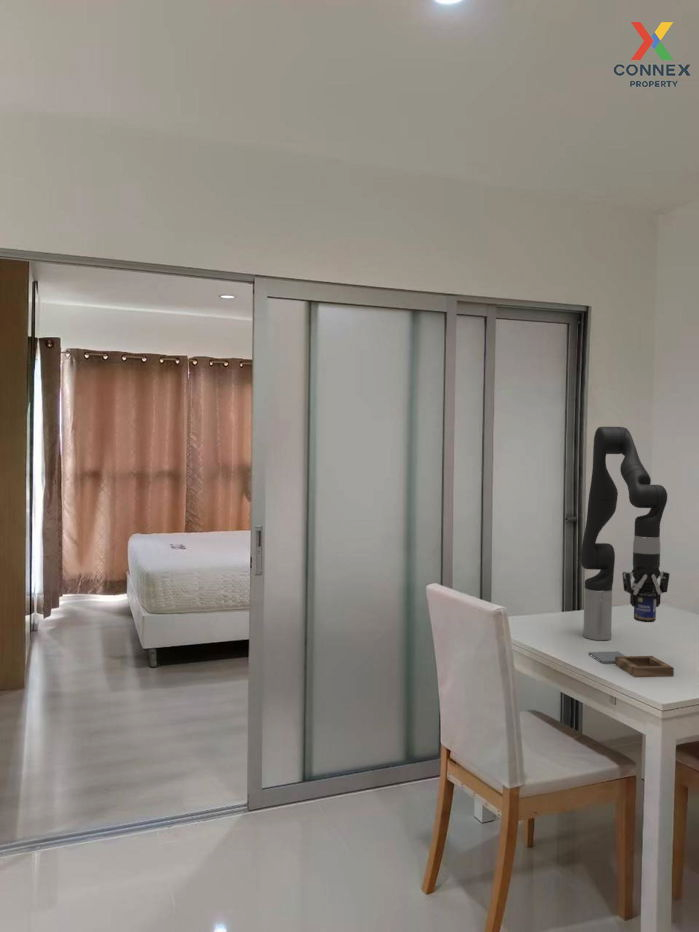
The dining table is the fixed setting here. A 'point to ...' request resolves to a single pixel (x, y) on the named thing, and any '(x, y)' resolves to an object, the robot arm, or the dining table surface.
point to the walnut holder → (644, 666)
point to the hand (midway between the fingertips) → (645, 606)
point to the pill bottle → (646, 604)
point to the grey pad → (606, 656)
